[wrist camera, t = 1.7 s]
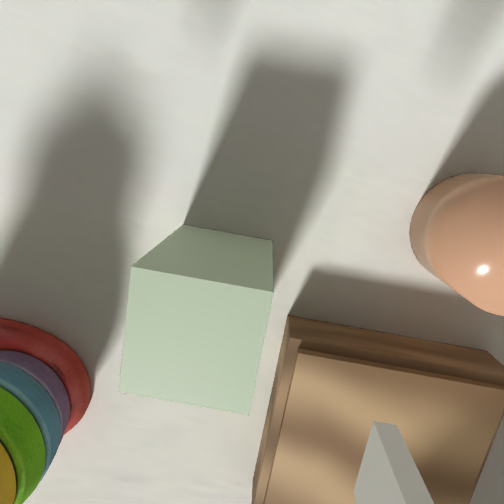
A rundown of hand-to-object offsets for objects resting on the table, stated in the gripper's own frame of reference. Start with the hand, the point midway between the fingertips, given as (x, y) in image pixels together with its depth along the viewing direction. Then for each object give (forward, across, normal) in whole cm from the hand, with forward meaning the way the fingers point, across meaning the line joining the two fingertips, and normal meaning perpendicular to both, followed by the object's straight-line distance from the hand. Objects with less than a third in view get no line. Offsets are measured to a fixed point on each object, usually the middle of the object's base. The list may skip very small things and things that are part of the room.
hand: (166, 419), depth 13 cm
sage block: (+14, 0, 0) cm, 15 cm away
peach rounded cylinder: (+14, +15, +6) cm, 22 cm away
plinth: (+15, +12, -8) cm, 21 cm away
